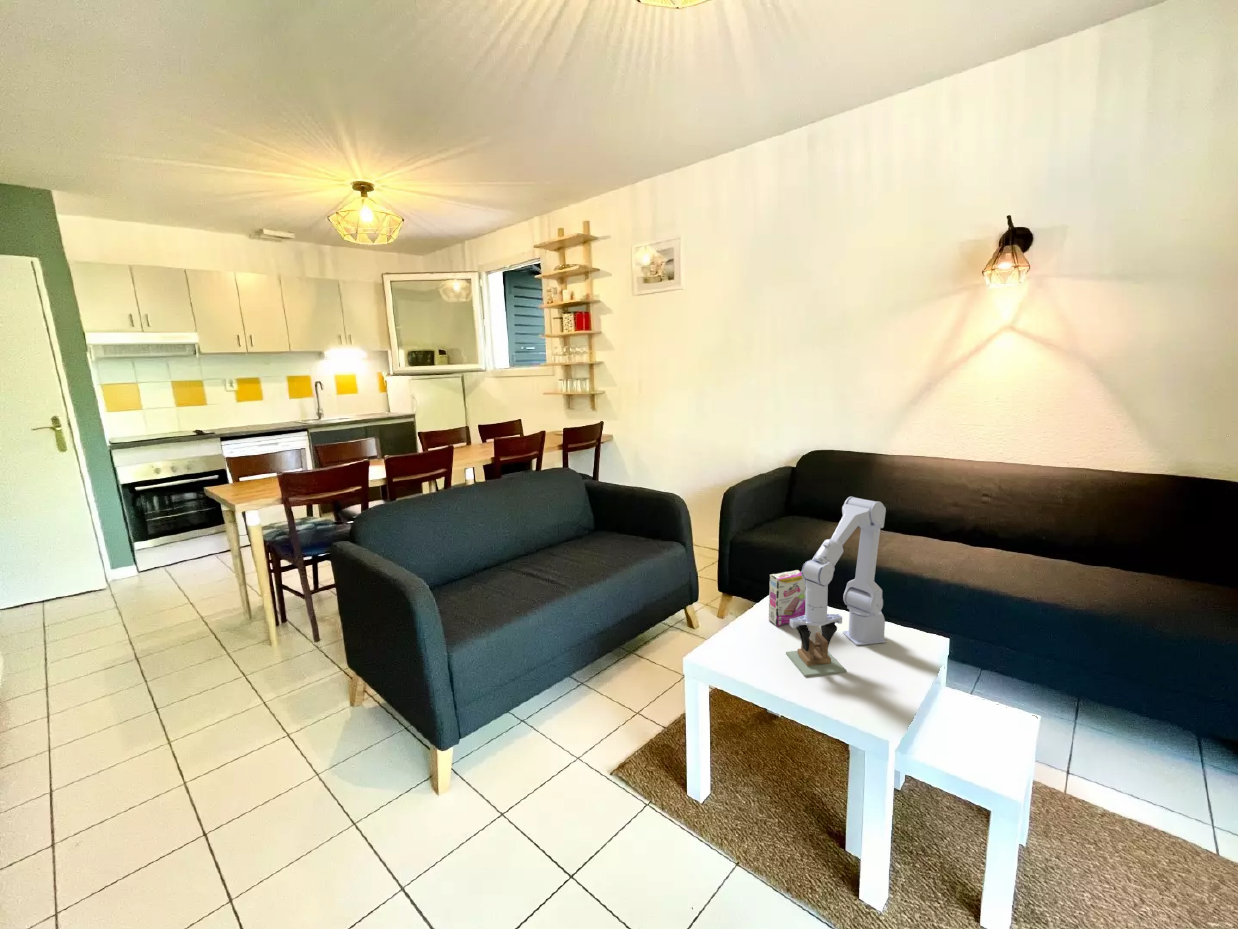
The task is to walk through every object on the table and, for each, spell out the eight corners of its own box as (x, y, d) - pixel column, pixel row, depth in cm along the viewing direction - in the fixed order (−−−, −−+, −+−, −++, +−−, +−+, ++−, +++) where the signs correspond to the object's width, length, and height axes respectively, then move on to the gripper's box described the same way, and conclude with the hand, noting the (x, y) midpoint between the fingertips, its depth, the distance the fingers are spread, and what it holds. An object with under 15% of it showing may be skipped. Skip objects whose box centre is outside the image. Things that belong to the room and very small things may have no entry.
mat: (824, 649, 155) (824, 647, 155) (846, 672, 143) (846, 670, 143) (785, 653, 154) (785, 652, 154) (804, 677, 142) (804, 674, 142)
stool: (820, 651, 152) (821, 631, 151) (830, 663, 147) (832, 642, 145) (797, 653, 152) (798, 633, 150) (807, 666, 146) (808, 645, 144)
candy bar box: (777, 627, 169) (777, 579, 167) (768, 621, 174) (768, 574, 171) (806, 621, 173) (807, 574, 170) (797, 614, 177) (797, 569, 174)
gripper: (833, 594, 150) (832, 638, 152) (785, 599, 149) (784, 643, 151) (846, 605, 143) (845, 651, 146) (796, 610, 142) (795, 656, 144)
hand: (815, 648), depth 148 cm, fingers closed on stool, 5 cm apart
